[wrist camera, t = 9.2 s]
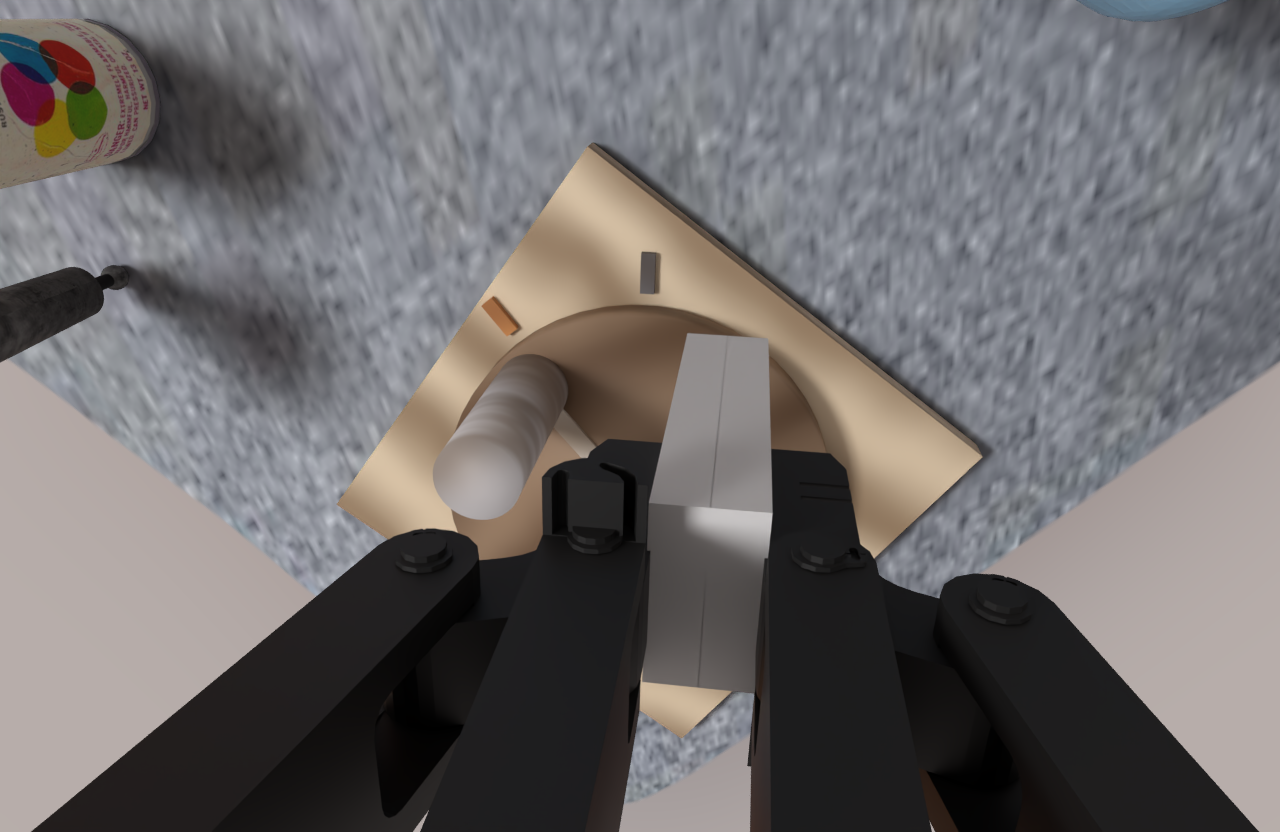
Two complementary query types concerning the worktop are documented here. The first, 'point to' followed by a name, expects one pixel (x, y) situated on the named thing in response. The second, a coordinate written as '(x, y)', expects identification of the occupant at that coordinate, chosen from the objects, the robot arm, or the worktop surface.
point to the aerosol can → (70, 98)
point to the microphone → (51, 305)
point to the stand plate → (677, 279)
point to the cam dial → (578, 414)
